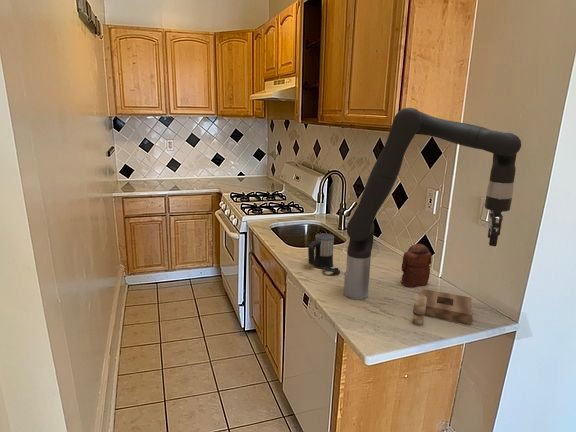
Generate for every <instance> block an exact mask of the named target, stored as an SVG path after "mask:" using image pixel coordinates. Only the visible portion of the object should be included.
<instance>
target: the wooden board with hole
mask: <svg viewBox="0 0 576 432" xmlns="http://www.w3.org/2000/svg"><path fill="white" fill-rule="evenodd" d="M420 294H421V295H424V296H426V297H427V301H426V309H425V315H424V317H429V318H434V319H439V320H443V321H449V322H452V323H459V324H464V325H467V326H471V325H472V318H473V304H472V303H473V302H472V301H473V300H472V299H473V298H472V296H471V297H470V296H463V295H460V294H453V293H448V292H442V291H436V290H432V289H427V288H421V290H420Z"/></svg>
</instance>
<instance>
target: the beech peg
mask: <svg viewBox="0 0 576 432" xmlns="http://www.w3.org/2000/svg"><path fill="white" fill-rule="evenodd" d="M426 301H427V297H426V296H424V295H421V294H415V295H414V299H413V308H412V309H413V310H412V324H413V325H415V326H423V325H424V320H425V316H424V315H425V309H426Z"/></svg>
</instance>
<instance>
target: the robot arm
mask: <svg viewBox="0 0 576 432" xmlns="http://www.w3.org/2000/svg"><path fill="white" fill-rule="evenodd" d="M415 135H419V136H420V135H421V136H423V135H424V136H429V137H434V138H438V139H440V140H443V141H446V142H449V143H452V144H456V145H458V146H459V145H460V146H464V147H466V148H467V147H468V148H470V149H471V148H473V149H475V150H482V151H485V152H488V153H492V165H491V169H490V175H489V180H488V185H487V189H486V195H485V201H484V202H485V203H484V209H486V210H489V211H490V212H489V213H488V219H487V220H488V222H487V223H488V231H487V238H488V239H489V241H488V244H489V245H488V246H491V247H497V244H498V239H499V236H500V235H501V229H502V226H503V225H502V224H503V221H504V216H503V214H502V213H503V212H509V211H510V210H511V206H512V201H513V195H514V183H515V178H516V177H515V176H516V169H517V168H516V160H517V155H518V153H519V151H520V150H521V148H522V140H521V139H520V138H519V136H518V135H517V134H514V133H513V132H504V131H497V130H491V129H489V128H487V127H483V126H479V125H474V124H470V123H466V122H459V121H454V120H449V119H448V120H447V119H442V118H438V117H436V116H432V115H430V114H427V113H424V112H421V111H419V109H416V108H414V107H404V108H402V109H400V110H399V111H398V112H396V114H395V116H394V117H393V121H392V123H391V125H390V130H389V134H388V136H387V139H386V142H385V144H384V146H383V149H382V150H381V151H380V153H379V156H378V157H377V159H376V161H375V163H374V165H373V167H372V169H371V172H370V174H369V176H368V179H367V181H366V184H365V186H364V189H363V191H362V195H361V197H360V201H359V203H358V205H357V207H356V208H355V210H354V212H353V214H352V216H351V217H350V219H349V221H348V222H347V226H346V232H347V236H348V238H349V240H348V241H349V242H348V246H347V249H346V250H347V251H346V253H347V254H346V269H345V272H344V280H343V282H344V283H343V296H346V297H348V298H349V299H352V300H364V299H367V298H368V297H369V288H370V287H369V286H370V275H371V274H370V273H371V259H372V257H371V256H372V250H373V245H374V238H375V237H374V234H375V223H374V222H375V218H376V216H377V213H378V212H379V210H380V208H381V207H382V205H383V204H384V203H385V201H386V200H387V198H388V196H389V194H390V193H391V191H392V189H393V188H394V185H395V183H396V180H397V179H398V176H399V173H400V170H401V169H402V164H403V161H404V157H405V154H406V151H407V149H408V147H409V146H410V144H411V142H412V140H413V139H414V137H415Z"/></svg>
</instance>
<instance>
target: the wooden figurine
mask: <svg viewBox="0 0 576 432" xmlns="http://www.w3.org/2000/svg"><path fill="white" fill-rule="evenodd" d="M432 257H433V256H432V253H431V252H430V250H429V248H428V247H427V246H426V245H425V244H422V243H415V244H412V245H411V246H409V248H408V249H407V251H406V252H404V254H403V256H402V264H401V271H402V277H401V281H400V283H401V284H400V285H403V287H409V288H410V287H411V288H413V287H414V288H415V287H420V286H426V285H427V284H428V282H429V280H430V274H431V266H430V265H431V264H432Z"/></svg>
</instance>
